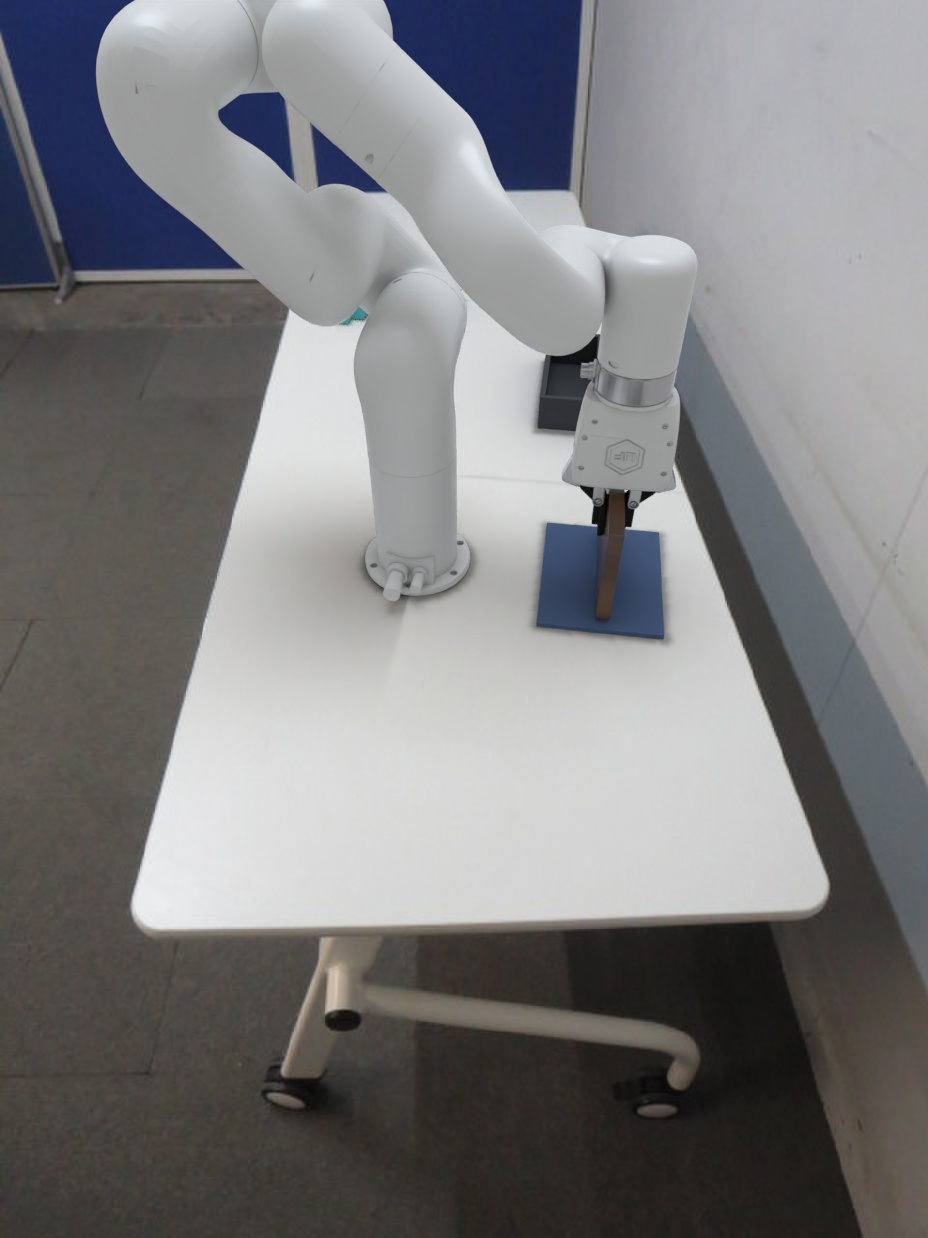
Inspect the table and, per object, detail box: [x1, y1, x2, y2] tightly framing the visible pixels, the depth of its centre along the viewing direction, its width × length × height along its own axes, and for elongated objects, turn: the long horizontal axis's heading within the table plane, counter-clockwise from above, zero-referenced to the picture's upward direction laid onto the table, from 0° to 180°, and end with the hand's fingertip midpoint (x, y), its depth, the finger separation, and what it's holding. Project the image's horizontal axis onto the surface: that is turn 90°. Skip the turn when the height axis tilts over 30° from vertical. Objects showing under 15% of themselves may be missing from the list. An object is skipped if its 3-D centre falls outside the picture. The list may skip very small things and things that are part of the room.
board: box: [595, 488, 626, 620], centre depth 90 cm, size 16×2×12 cm, turn 172°
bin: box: [537, 333, 601, 432], centre depth 122 cm, size 21×9×6 cm, turn 172°
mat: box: [535, 522, 665, 640], centre depth 95 cm, size 18×14×1 cm
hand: (610, 528), depth 89 cm, fingers closed on board, 1 cm apart
